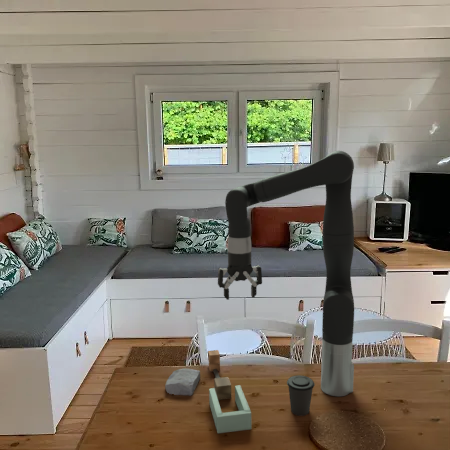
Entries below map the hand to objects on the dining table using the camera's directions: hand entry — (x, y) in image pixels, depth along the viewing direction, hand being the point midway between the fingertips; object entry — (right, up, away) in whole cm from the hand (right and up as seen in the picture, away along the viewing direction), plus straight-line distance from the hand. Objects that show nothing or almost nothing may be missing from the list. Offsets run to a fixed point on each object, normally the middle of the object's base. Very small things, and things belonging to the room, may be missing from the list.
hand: (240, 297), depth 156 cm
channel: (-4, -32, -16) cm, 36 cm away
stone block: (-19, -29, +1) cm, 35 cm away
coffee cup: (+17, -31, -14) cm, 39 cm away
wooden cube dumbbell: (-7, -28, +2) cm, 29 cm away
